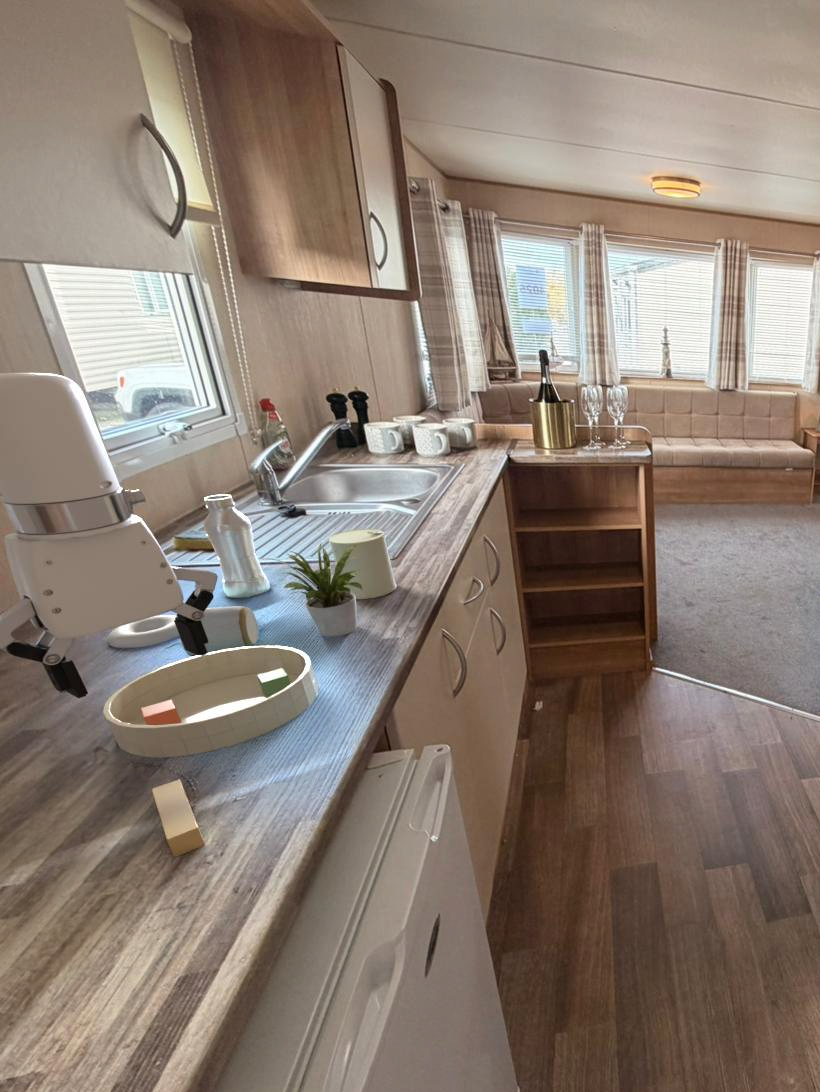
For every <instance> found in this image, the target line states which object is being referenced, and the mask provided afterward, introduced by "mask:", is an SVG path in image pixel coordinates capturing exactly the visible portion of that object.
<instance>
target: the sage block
mask: <svg viewBox="0 0 820 1092" xmlns="http://www.w3.org/2000/svg"><path fill="white" fill-rule="evenodd" d="M257 677H258V680H259V683H260V686H261V689H262V692H263V694H264V695H265V697H266V698H268V697H270V696H272V695H274V694H276V693H277V692H279V691H281V690H283V689H285V688H286V687H287V686H289V685H290V680H289V677H288V675H287V674H286V672H285V671H284V670H283V668H280V669H277V670H273V671H270V672H266V673H263V674H259V675H257Z"/></svg>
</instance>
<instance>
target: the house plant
mask: <svg viewBox="0 0 820 1092" xmlns="http://www.w3.org/2000/svg"><path fill="white" fill-rule="evenodd" d="M322 543H323V542H321V543H320V544H319V546H318V551H317V558H318V559H317V560H318V567H319V569H316V570H315V571H314V570H313V569H312V567H311V565H310V564H309V562H308V561H307V560H306V559H305V558H304V556H302V555H301V554H300V553H297V552H295V551H291V550H290V551H289V552H290V553H293V554H295V555H296V556H295V555H293V554H290V553H287V556H288V557H289V558H290V559H291V560H293V561H294V562H295V563H296V565H298V566H299V567H298V566H291V565H290V564H288V563H287V562H285V561H283V560H279V559H276V558H269V560H271V561H275V562H276V561H277V562H279V563H282V564H284V565H286V566H288V567H285V568H281V569H280V571H283V570H286V569H288V568H289V569H292V570H294V571H295V572H296V573H298V574H299V575H297V574H296V573H292V572H286V574H287V575H291V576H293V577H294V578H296V579H298V580H299V581H300V582H302V583H300V582H297V581H296V582H295V581H291V582H288V583H286V584H285V585H284V586H283V589H288V588H289V590H288V592H289V591H294V592H291V593H290V595H292V594H295V593H297V591H295V590H304V591H300V593H301V594H304V595H305V598H306V602H305V607H306V609H307V611H308V613H309V614H310V616H311V618H312V620H313V622H314V624H315V626H316V628H317V630H318V632H319V633H320V636H323V637H327V638H330V637H331V638H332V637H339V636H344V635H345V636H346V635H348V634H350V633H353V632H354V631H356V630H357V628H358V614H357V613H358V612H357V599H356V596H355V595H354V594H353V593H350V588H348V587H347V585H350V586H354V587H357V588H359V589H361V590H362V586H361V584H359V583H357V582H350V583H349V581H350V580H351V579H352V578H354V577H356V576H355V575H358V574H350V573H353V572H356V571H360V570H356V571H351V572H347V573H344V574H341V572H342V570H343V568H344V567H345V565H346V564H347V563H348V562H349V561H350V560H349V561H348V562H347V563H346V564H345V562H346V561H347V559H348V558H349V556H350V553H351V551H352V550H353V549H354V548H355V547H356V546H357V545H358V544H356V545H354V546H352V547H350V548H349V549H348V550H347V551H346V552H345V553H344V554H343V556H342V557H341V559H340V560H339V562H338V563H337V565H336V564H335V567H334V568H333V567H332V566H331V561H330V560H331V559H330V557H331V556H332V555H333V553H334V552H335V551H336V550H337V549H336V550H335V551H334V552H331V553H330V554H328V551H327V550H326V549H325V548H324V547H322ZM321 549H322V554H321ZM321 555H322V556H321ZM297 556H298V557H299V558H300V559H299V558H298V557H297ZM356 557H358V556H356ZM354 558H355V557H354ZM352 559H353V558H352ZM261 560H268V558H264V557H263V558H261ZM322 560H323V565H324V566H322ZM344 564H345V565H344ZM331 569H332V570H333V569H334V572H333V575H332V573H331V572H332V571H331ZM283 574H285V572H282V573H279V574H278V576H279V575H283ZM340 574H341V575H340ZM301 576H302V577H303V578H305V579H306V580H307V581H308V582H310V584H309V583H308V582H307V581H306V580H305V579H303V578H302V577H301ZM331 576H332V577H331ZM311 584H312V585H313V586H314V587H315V588H313V586H312V585H311ZM290 588H291V589H290ZM305 591H306V592H305Z"/></svg>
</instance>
